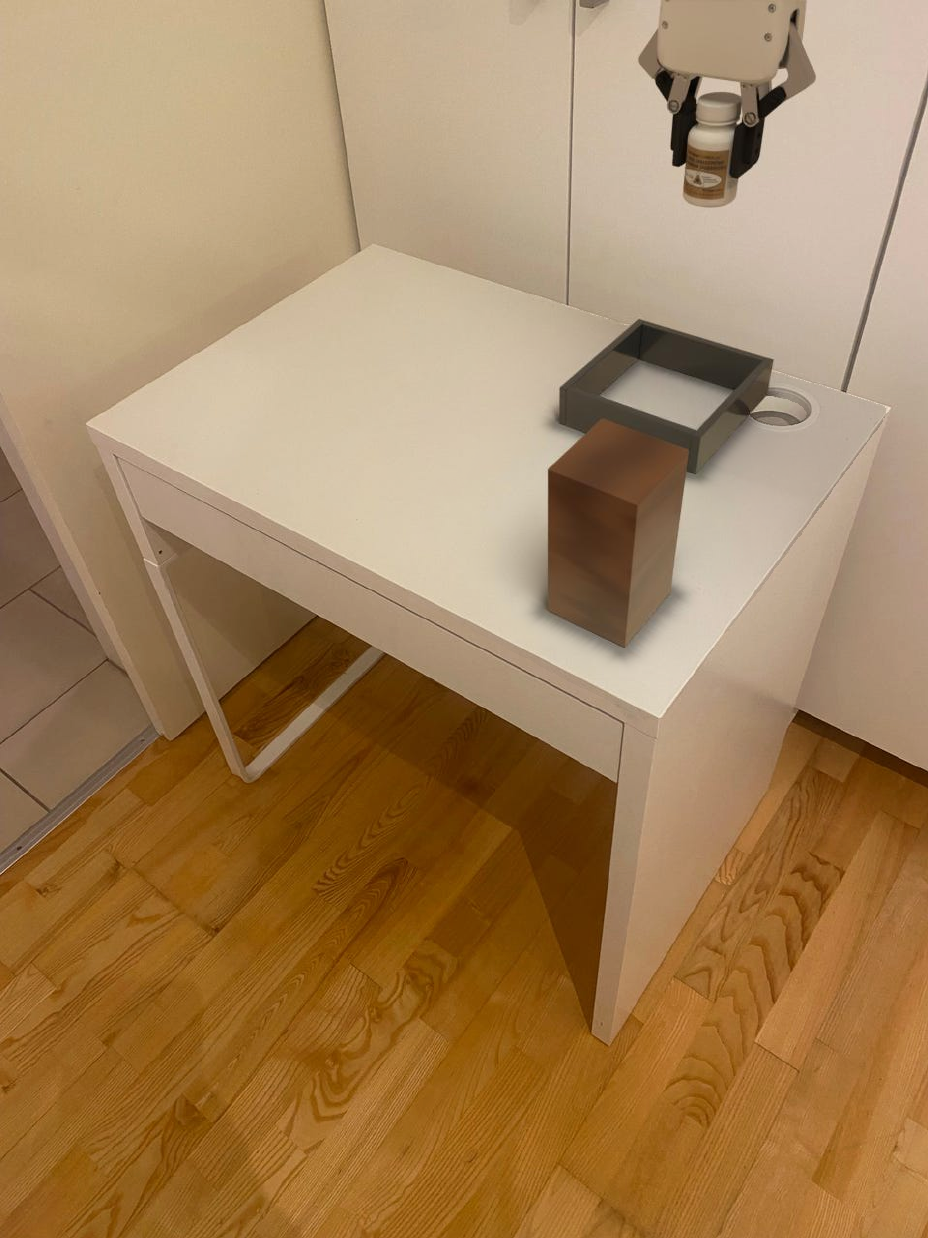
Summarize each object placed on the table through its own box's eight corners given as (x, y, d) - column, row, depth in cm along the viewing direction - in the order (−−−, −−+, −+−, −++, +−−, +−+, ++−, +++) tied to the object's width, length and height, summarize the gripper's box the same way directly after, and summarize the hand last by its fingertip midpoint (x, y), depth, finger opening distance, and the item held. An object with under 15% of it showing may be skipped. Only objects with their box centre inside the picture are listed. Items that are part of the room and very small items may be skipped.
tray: (766, 395, 93) (774, 359, 90) (695, 474, 86) (700, 437, 83) (636, 353, 100) (638, 318, 97) (558, 422, 92) (559, 387, 89)
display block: (670, 593, 76) (689, 449, 65) (624, 648, 72) (637, 505, 62) (594, 559, 79) (601, 417, 69) (547, 610, 75) (547, 468, 65)
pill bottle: (672, 202, 80) (681, 103, 75) (697, 183, 83) (707, 85, 77) (720, 213, 78) (733, 111, 73) (744, 193, 81) (758, 93, 75)
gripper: (886, -115, 64) (830, 168, 77) (661, -124, 71) (645, 134, 85) (841, -91, 60) (790, 203, 73) (608, -103, 68) (600, 164, 81)
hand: (712, 164), depth 79 cm, fingers closed on pill bottle, 4 cm apart
